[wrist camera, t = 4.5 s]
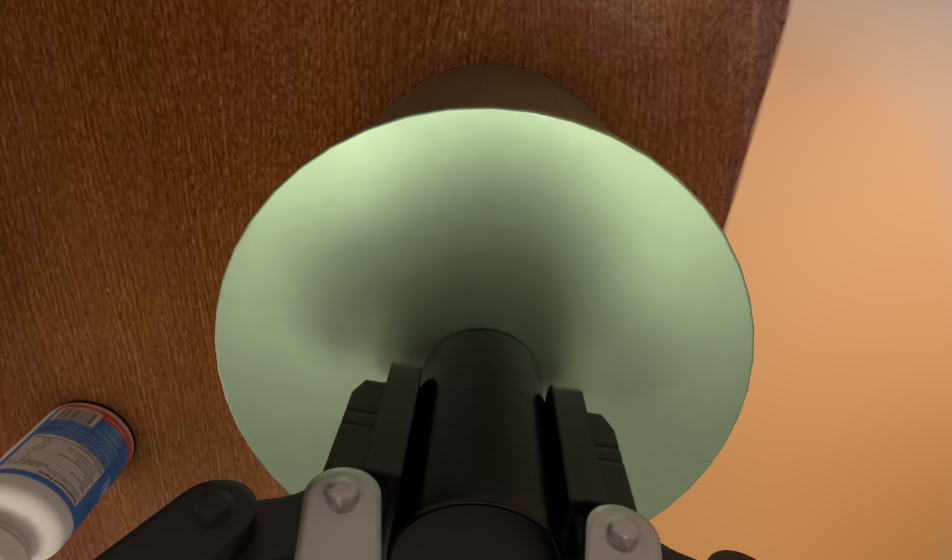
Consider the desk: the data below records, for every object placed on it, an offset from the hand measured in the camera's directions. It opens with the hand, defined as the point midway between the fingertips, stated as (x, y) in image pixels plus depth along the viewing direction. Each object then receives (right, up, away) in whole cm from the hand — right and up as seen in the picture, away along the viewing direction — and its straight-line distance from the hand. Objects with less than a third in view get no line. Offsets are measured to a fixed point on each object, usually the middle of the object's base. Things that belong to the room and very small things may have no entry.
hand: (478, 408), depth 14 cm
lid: (0, +1, +1) cm, 2 cm away
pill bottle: (-24, -7, +23) cm, 33 cm away
